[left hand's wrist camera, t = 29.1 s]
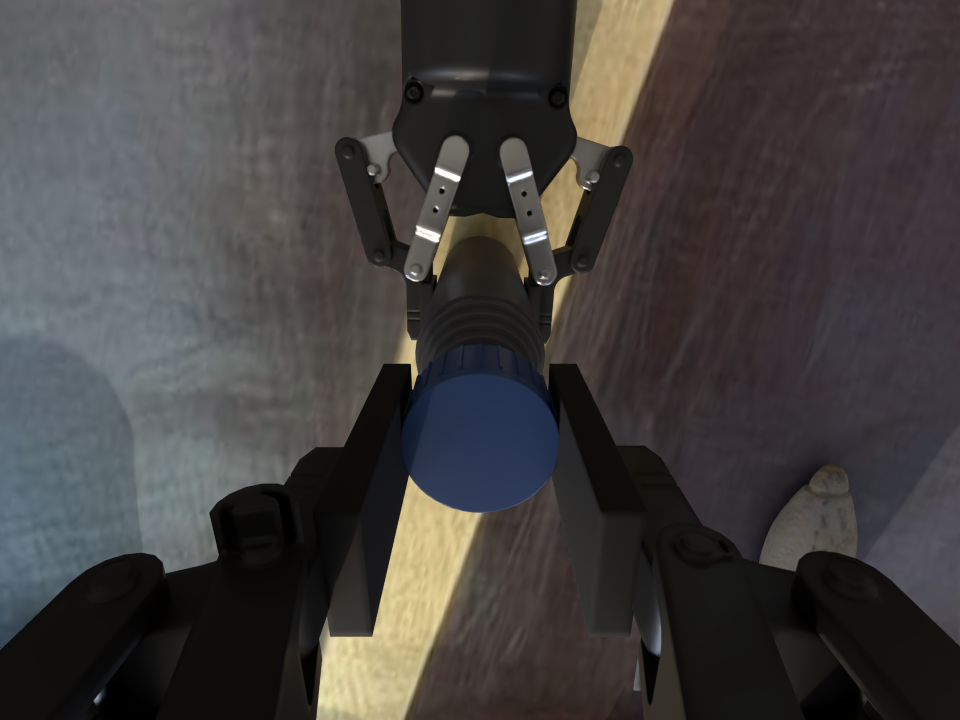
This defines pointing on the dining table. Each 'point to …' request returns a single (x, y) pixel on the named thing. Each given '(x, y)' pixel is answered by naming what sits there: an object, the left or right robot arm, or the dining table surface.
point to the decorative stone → (813, 521)
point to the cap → (480, 429)
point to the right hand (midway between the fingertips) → (477, 346)
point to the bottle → (480, 305)
